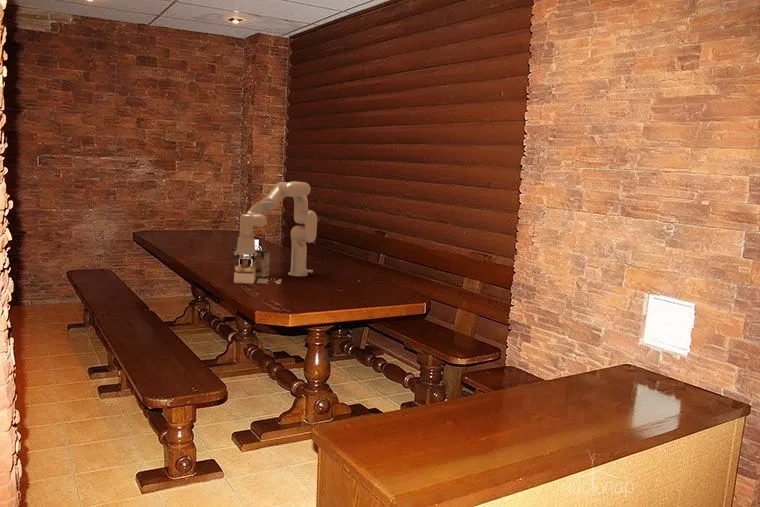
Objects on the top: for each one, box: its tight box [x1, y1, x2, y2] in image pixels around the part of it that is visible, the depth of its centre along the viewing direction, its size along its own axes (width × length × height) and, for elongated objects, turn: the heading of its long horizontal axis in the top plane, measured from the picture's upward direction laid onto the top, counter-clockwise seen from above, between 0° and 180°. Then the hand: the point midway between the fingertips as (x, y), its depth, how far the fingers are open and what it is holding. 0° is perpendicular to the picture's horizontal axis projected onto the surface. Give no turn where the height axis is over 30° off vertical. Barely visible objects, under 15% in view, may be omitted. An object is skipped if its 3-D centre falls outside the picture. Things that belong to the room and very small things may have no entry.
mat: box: [255, 277, 283, 285], centre depth 375 cm, size 14×14×1 cm
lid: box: [234, 257, 256, 272], centre depth 368 cm, size 12×12×6 cm
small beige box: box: [233, 270, 256, 285], centre depth 370 cm, size 11×11×6 cm
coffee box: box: [251, 249, 271, 278], centre depth 390 cm, size 9×6×16 cm
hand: (245, 265), depth 369 cm, fingers closed on lid, 3 cm apart
